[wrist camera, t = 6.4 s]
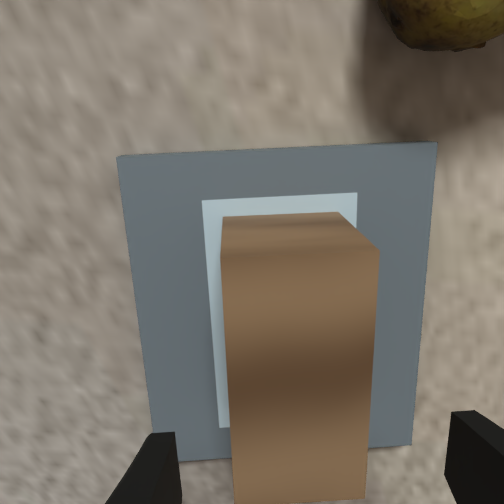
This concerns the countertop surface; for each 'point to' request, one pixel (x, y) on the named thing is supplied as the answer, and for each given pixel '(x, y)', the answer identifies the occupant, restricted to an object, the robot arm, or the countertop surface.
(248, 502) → the walnut brick
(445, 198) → the countertop surface
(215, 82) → the countertop surface
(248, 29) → the countertop surface
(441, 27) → the potato
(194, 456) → the board
